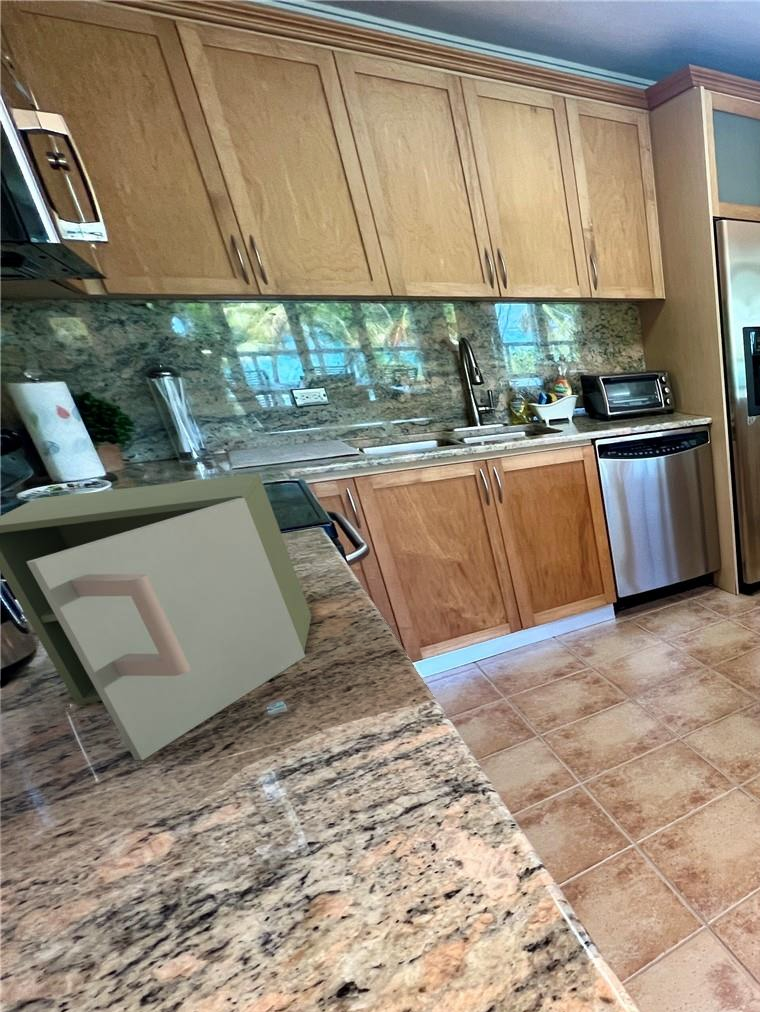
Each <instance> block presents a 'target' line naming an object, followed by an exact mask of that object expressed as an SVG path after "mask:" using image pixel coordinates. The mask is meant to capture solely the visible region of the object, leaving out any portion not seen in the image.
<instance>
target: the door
mask: <svg viewBox="0 0 760 1012" xmlns="http://www.w3.org/2000/svg"><path fill="white" fill-rule="evenodd" d="M27 564H28V566H29V568H30V570H31V572H32V573H33V575H34V577H35V579H36V581H37V582H38V584H39V586H40V588H41V590H42V592H43V593H44V595H45V597H46V599H47V601H48V603H49V604H50V606H51V608H52V610H53V612H54V613H55V615H56V617H57V619H58V621H59V623H60V624H61V626H62V628H63V630H64V632H65V634H66V635H67V637H68V639H69V641H70V643H71V645H72V646H73V648H74V650H75V652H76V654H77V655H78V657H79V659H80V661H81V663H82V665H83V666H84V668H85V670H86V672H87V674H88V676H89V677H90V679H91V681H92V683H93V685H94V686H95V688H96V690H97V692H98V694H99V696H100V697H101V699H102V700H101V701H102V703H103V705H104V706H105V708H106V710H107V712H108V714H109V716H110V717H111V719H112V721H113V724H114V725H115V726H116V729H117V730H118V732H119V734H120V735H121V738H122V740H123V741H124V743H125V745H126V747H127V748H128V751H129V752H130V754H131V756H132V757H133V759H134V761H136V762H137V761H138V762H139V761H141V762H142V761H144V760H145V759H148V758H149V757H150V756H152V755H154V754H155V753H157V752H158V751H160V750H162V749H163V748H164V747H166V746H167V745H169V744H171V743H173V742H174V741H176V740H177V739H178V738H180V737H182V736H183V735H185V734H186V733H188V732H189V731H191V730H194V728H196V727H197V726H199V725H200V724H202V723H204V722H205V721H206V720H208V719H210V718H212V717H213V716H215V715H217V714H218V713H220V712H221V711H222V710H224V709H225V708H228V707H229V706H230V705H232V704H233V703H235V702H237V701H239V700H240V699H241V698H243V697H244V696H246V695H247V694H249V693H252V691H254V690H255V689H258V688H259V687H260V686H262V685H263V684H265V683H266V682H268V681H269V680H271V679H273V678H275V677H276V676H277V675H279V674H281V673H282V672H284V671H285V670H287V669H289V668H290V667H291V666H293V665H295V664H296V663H298V662H300V661H301V660H302V659H304V658H306V654H305V650H304V651H303V649H302V646H301V644H300V641H299V638H298V636H297V633H296V631H295V628H294V625H293V623H292V620H291V618H290V615H289V612H288V610H287V607H286V605H285V602H284V599H283V597H282V594H281V592H280V589H279V586H278V584H277V581H276V579H275V576H274V573H273V571H272V568H271V566H270V563H269V560H268V558H267V555H266V553H265V550H264V547H263V545H262V542H261V540H260V537H259V534H258V532H257V529H256V527H255V524H254V521H253V519H252V516H251V514H250V511H249V508H248V506H247V503H246V501H245V498H237V499H234V500H230V501H227V502H224V503H220V504H217V505H214V506H210V507H207V508H204V509H200V510H197V511H194V512H190V513H187V514H184V515H180V516H177V517H174V518H170V519H167V520H164V521H160V522H157V523H154V524H150V525H147V526H144V527H140V528H137V529H134V530H130V531H127V532H124V533H120V534H117V535H114V536H110V537H107V538H104V539H100V540H97V541H94V542H90V543H87V544H84V545H80V546H77V547H74V548H70V549H67V550H64V551H60V552H57V553H54V554H50V555H47V556H44V557H40V558H37V559H34V560H30V561H27Z"/></svg>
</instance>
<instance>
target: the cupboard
mask: <svg viewBox="0 0 760 1012" xmlns="http://www.w3.org/2000/svg"><path fill="white" fill-rule="evenodd" d="M206 479H207V480H198V481H189V482H182V481H179V482H180V483H178V482H171V483H164V484H163V483H162V484H154V485H145V486H136V487H125V488H117V489H108V490H107V489H106V490H100V491H99V490H98V491H92V492H91V491H90V492H81V493H71V494H63V495H55V496H46V497H45V496H44V497H37V498H34V499H32V500H30V501H28V502H26V503H24V504H22V505H20V506H18V507H16V508H14V509H12V510H10V511H8V512H5V513H4V514H2V515H0V574H1V575H2V577H3V578H4V581H5V582H6V583H7V585H8V587H9V589H10V591H11V592H12V594H13V596H14V597H15V599H16V601H17V603H18V605H19V606H20V609H21V610H22V612H23V613H24V615H25V617H26V619H27V621H28V622H29V624H30V626H31V628H32V629H33V631H34V633H35V635H36V636H37V638H38V640H39V642H40V643H41V645H42V647H43V649H44V650H45V652H46V653H47V656H48V657H49V660H50V661H51V662H52V664H53V666H54V668H55V670H56V671H57V673H58V675H59V677H60V678H61V680H62V682H63V684H64V685H65V687H66V689H67V691H68V692H69V694H70V696H71V699H72V700H73V701H74V703H75V704H76V706H77V707H78V706H83V705H88V704H92V703H97V702H101V701H102V699H101V697H100V696H99V694H98V692H97V690H96V688H95V686H94V685H93V683H92V681H91V679H90V677H89V676H88V674H87V672H86V670H85V668H84V666H83V665H82V663H81V661H80V659H79V657H78V655H77V654H76V652H75V650H74V648H73V646H72V645H71V643H70V641H69V639H68V637H67V635H66V634H65V632H64V630H63V628H62V626H61V624H60V623H59V621H58V619H57V617H56V615H55V613H54V612H53V610H52V608H51V606H50V604H49V603H48V601H47V599H46V597H45V595H44V593H43V592H42V590H41V588H40V586H39V584H38V582H37V581H36V579H35V577H34V575H33V573H32V572H31V570H30V568H29V566H28V564H27V561H30V560H34V559H37V558H40V557H44V556H47V555H50V554H54V553H57V552H60V551H64V550H67V549H70V548H74V547H77V546H80V545H84V544H87V543H90V542H94V541H97V540H100V539H104V538H107V537H110V536H114V535H117V534H120V533H124V532H127V531H130V530H134V529H137V528H140V527H144V526H147V525H150V524H154V523H157V522H160V521H164V520H167V519H170V518H174V517H177V516H180V515H184V514H187V513H190V512H194V511H197V510H200V509H204V508H207V507H210V506H214V505H217V504H220V503H224V502H227V501H230V500H234V499H237V498H245V501H246V503H247V506H248V508H249V511H250V514H251V516H252V519H253V521H254V524H255V527H256V529H257V532H258V534H259V537H260V540H261V542H262V545H263V547H264V550H265V553H266V555H267V558H268V560H269V563H270V566H271V568H272V571H273V573H274V576H275V579H276V581H277V584H278V586H279V589H280V592H281V594H282V597H283V599H284V602H285V605H286V607H287V610H288V612H289V615H290V618H291V620H292V623H293V625H294V628H295V631H296V633H297V636H298V638H299V641H300V644H301V646H302V649H303V651H304V652H305V650H306V646H307V645H306V644H307V640H308V636H309V631H310V625H311V621H312V613H311V610H310V608H309V605H308V603H307V599H306V597H305V594H304V591H303V589H302V586H301V583H300V581H299V578H298V574H297V572H296V570H295V567H294V564H293V562H292V558H291V556H290V553H289V551H288V548H287V546H286V542H285V539H284V537H283V535H282V532H281V529H280V527H279V524H278V521H277V519H276V516H275V513H274V510H273V507H272V505H271V502H270V500H269V497H268V494H267V491H266V489H265V486H264V483H263V481H262V477H261V475H260V473H251V474H243V475H235V476H234V475H233V476H226V477H225V476H224V477H218V478H206Z"/></svg>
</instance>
